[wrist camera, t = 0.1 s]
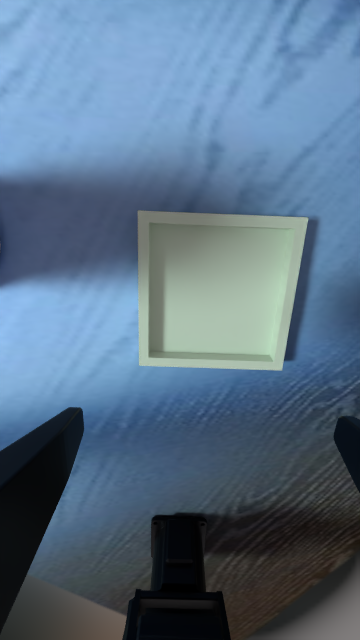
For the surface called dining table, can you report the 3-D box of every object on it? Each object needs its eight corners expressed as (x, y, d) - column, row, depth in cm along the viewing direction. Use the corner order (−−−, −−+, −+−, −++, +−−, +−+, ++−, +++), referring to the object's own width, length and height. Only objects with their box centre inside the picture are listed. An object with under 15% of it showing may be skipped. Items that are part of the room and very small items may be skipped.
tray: (274, 361, 24) (281, 370, 23) (142, 356, 24) (139, 365, 22) (297, 219, 21) (308, 217, 19) (141, 213, 20) (137, 210, 19)
